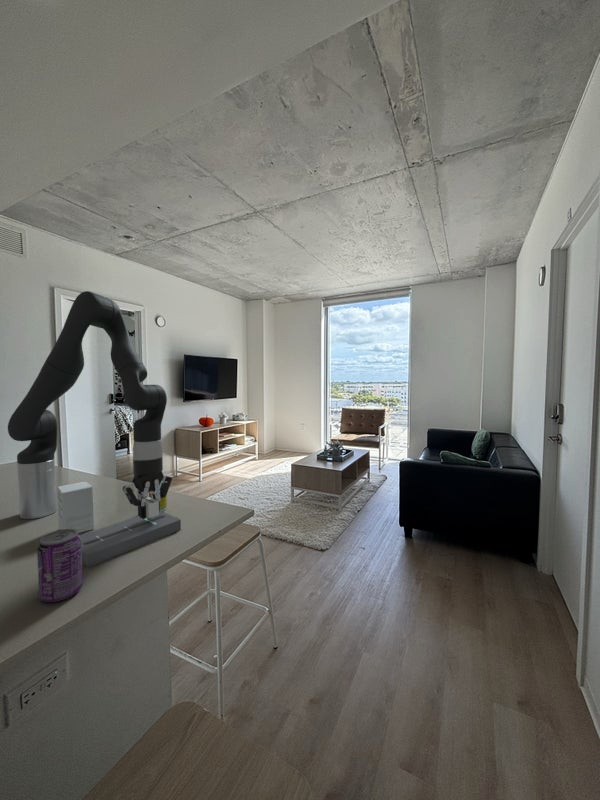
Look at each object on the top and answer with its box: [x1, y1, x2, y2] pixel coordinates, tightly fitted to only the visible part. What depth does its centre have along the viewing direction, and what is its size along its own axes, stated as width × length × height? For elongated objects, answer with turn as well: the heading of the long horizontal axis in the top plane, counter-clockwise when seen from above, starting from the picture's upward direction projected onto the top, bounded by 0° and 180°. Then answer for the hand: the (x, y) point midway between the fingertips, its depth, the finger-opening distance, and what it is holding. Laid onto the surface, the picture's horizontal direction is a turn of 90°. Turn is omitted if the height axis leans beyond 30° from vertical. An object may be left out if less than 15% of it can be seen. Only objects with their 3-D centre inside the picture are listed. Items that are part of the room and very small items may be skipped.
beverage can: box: [36, 529, 84, 603], centre depth 66 cm, size 7×7×12 cm
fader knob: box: [145, 496, 159, 520], centre depth 93 cm, size 5×3×6 cm, turn 53°
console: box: [78, 511, 182, 568], centre depth 89 cm, size 12×24×3 cm, turn 143°
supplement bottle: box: [148, 481, 168, 512], centre depth 109 cm, size 5×5×10 cm
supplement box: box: [56, 481, 95, 534], centre depth 94 cm, size 7×7×13 cm
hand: (149, 515), depth 93 cm, fingers closed on fader knob, 3 cm apart
